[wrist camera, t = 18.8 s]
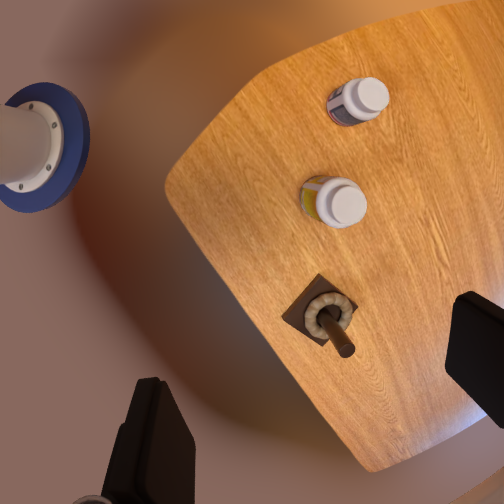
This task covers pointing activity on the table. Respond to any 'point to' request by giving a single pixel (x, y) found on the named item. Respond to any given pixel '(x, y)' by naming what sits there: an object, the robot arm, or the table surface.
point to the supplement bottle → (333, 200)
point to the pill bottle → (357, 101)
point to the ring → (322, 302)
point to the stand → (321, 316)
